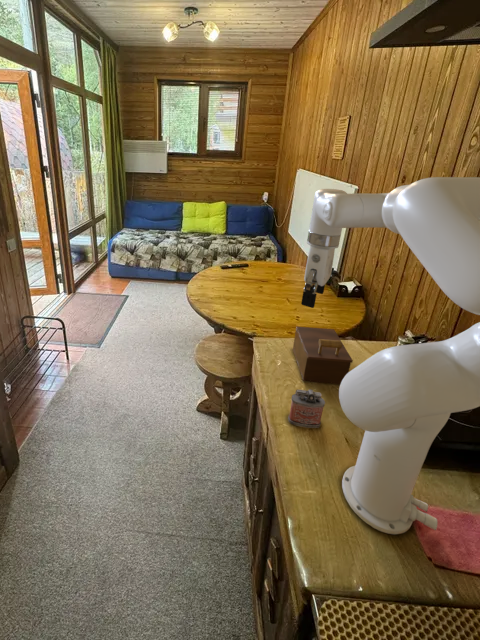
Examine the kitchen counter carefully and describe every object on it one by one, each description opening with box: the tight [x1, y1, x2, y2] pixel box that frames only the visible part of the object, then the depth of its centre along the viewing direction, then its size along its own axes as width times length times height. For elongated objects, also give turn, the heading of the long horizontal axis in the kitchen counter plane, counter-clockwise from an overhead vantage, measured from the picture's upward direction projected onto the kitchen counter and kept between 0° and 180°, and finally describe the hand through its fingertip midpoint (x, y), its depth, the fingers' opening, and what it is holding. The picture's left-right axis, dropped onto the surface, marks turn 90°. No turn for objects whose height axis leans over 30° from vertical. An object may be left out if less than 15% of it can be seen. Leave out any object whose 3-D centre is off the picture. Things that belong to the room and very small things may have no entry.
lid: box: [295, 326, 354, 364], centre depth 97 cm, size 16×13×6 cm
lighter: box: [287, 389, 326, 429], centre depth 79 cm, size 8×3×10 cm, turn 82°
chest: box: [292, 328, 352, 385], centre depth 100 cm, size 16×13×9 cm
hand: (312, 298), depth 84 cm, fingers open, 9 cm apart
